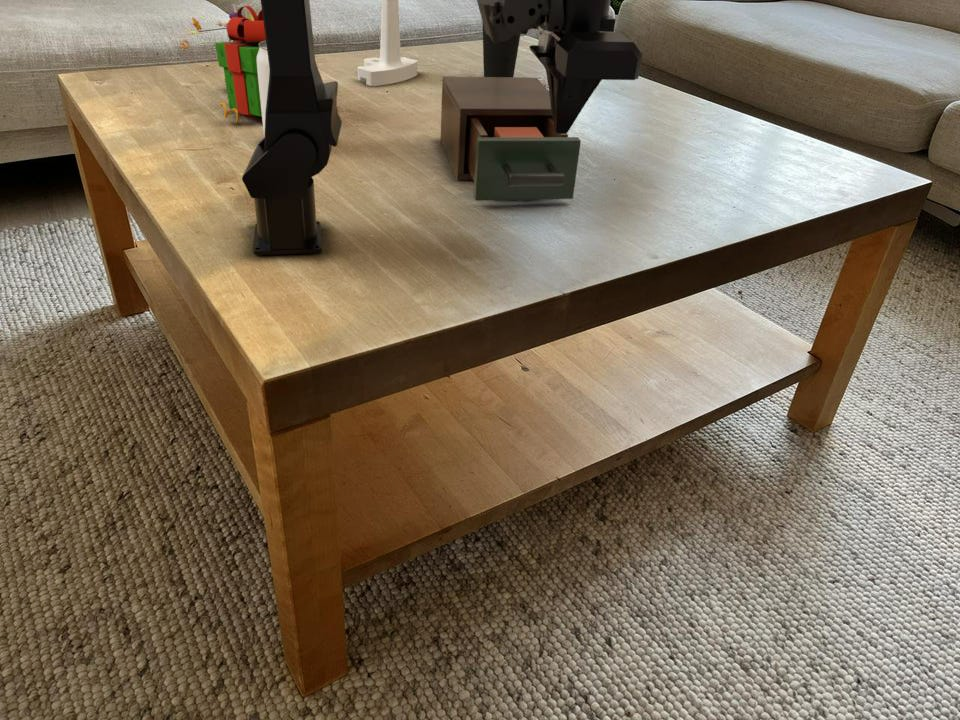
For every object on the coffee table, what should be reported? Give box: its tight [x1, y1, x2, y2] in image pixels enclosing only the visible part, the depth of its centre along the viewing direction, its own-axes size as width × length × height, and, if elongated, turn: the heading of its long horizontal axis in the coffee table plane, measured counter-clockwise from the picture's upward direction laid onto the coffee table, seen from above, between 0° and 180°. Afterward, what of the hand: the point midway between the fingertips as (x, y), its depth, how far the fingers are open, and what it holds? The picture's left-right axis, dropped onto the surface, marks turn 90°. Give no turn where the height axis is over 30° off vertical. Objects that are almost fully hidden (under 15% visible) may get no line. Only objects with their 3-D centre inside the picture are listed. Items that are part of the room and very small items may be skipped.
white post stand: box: [357, 0, 418, 87], centre depth 122 cm, size 11×8×20 cm
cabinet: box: [440, 76, 552, 181], centre depth 96 cm, size 14×13×9 cm
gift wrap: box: [179, 5, 266, 124], centre depth 103 cm, size 20×19×14 cm
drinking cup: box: [481, 20, 522, 77], centre depth 123 cm, size 8×8×20 cm
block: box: [494, 127, 544, 137], centre depth 88 cm, size 5×5×5 cm
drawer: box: [465, 115, 582, 201], centre depth 88 cm, size 17×11×7 cm
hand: (560, 132), depth 72 cm, fingers closed
